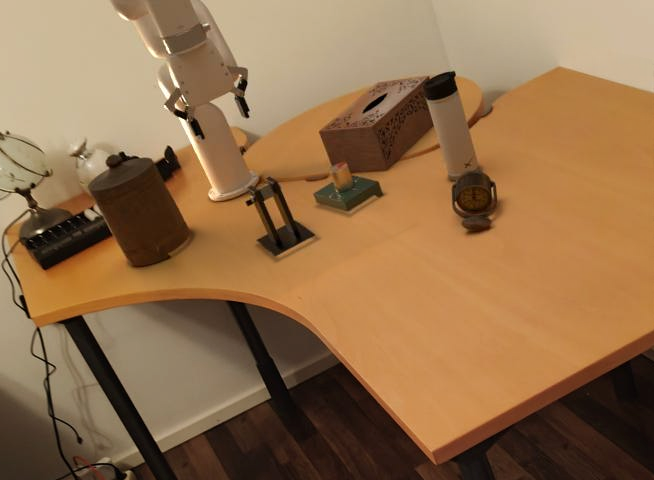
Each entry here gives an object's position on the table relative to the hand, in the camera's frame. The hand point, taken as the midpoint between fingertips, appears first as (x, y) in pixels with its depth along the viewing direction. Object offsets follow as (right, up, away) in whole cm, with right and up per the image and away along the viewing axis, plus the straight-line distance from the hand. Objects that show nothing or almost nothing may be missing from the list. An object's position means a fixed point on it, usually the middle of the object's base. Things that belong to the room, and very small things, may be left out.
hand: (224, 127), depth 165 cm
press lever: (+8, -14, +2) cm, 16 cm away
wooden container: (-19, -20, +22) cm, 35 cm away
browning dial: (+23, -10, +9) cm, 26 cm away
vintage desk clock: (+48, -20, -12) cm, 53 cm away
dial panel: (+24, -12, +11) cm, 29 cm away
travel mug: (+47, -8, +4) cm, 48 cm away
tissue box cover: (+31, +5, +30) cm, 44 cm away
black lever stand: (+12, -22, +4) cm, 25 cm away
